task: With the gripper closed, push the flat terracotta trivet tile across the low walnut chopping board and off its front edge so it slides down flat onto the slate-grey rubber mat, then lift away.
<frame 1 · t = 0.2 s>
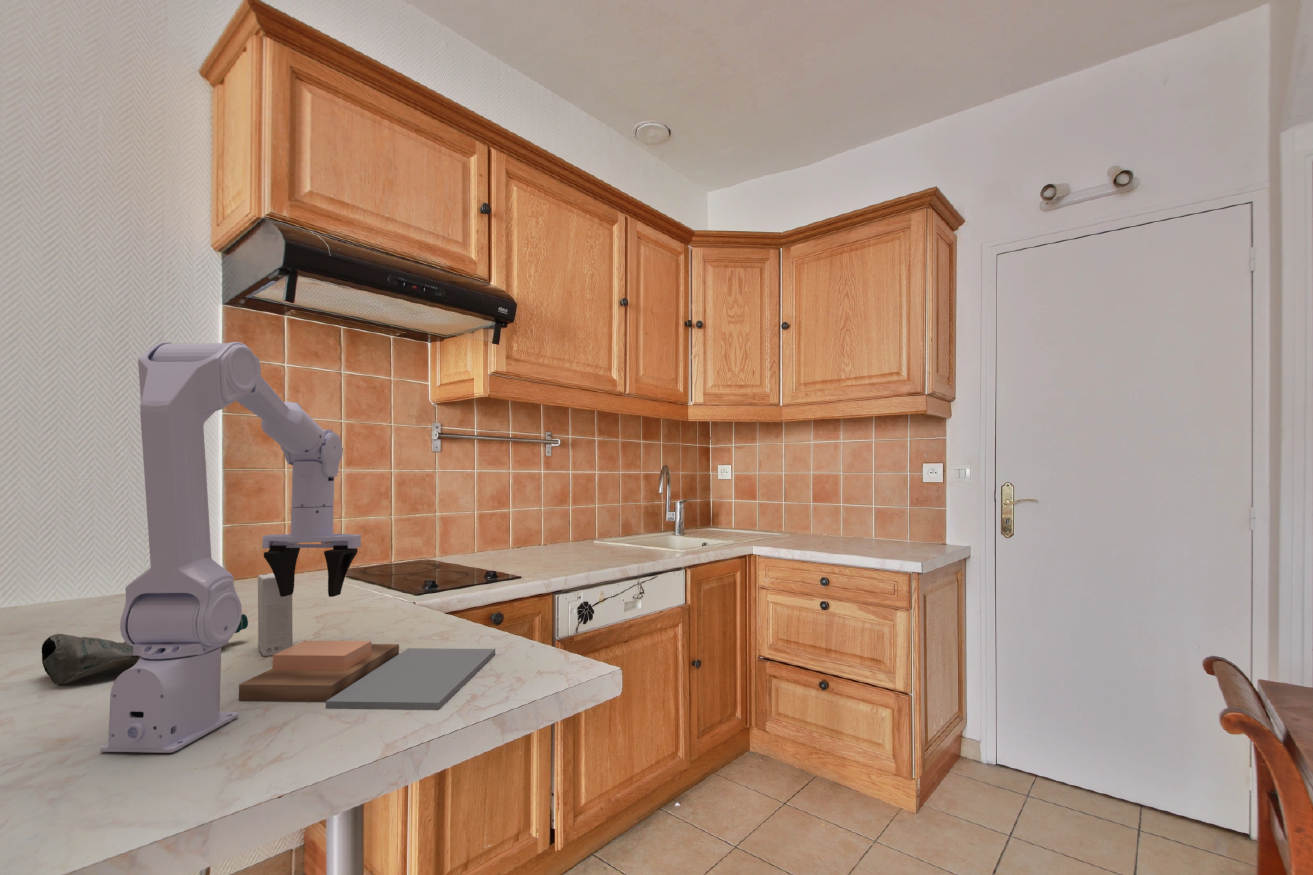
hand: (310, 595, 94), 10 cm above the counter, fingers open, 7 cm apart
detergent: (153, 664, 93), on the counter
deck: (326, 676, 86), on the counter
skincare box: (274, 651, 98), on the counter
tile: (323, 662, 86), point 2 cm above the counter, touching deck
mat: (421, 677, 85), on the counter
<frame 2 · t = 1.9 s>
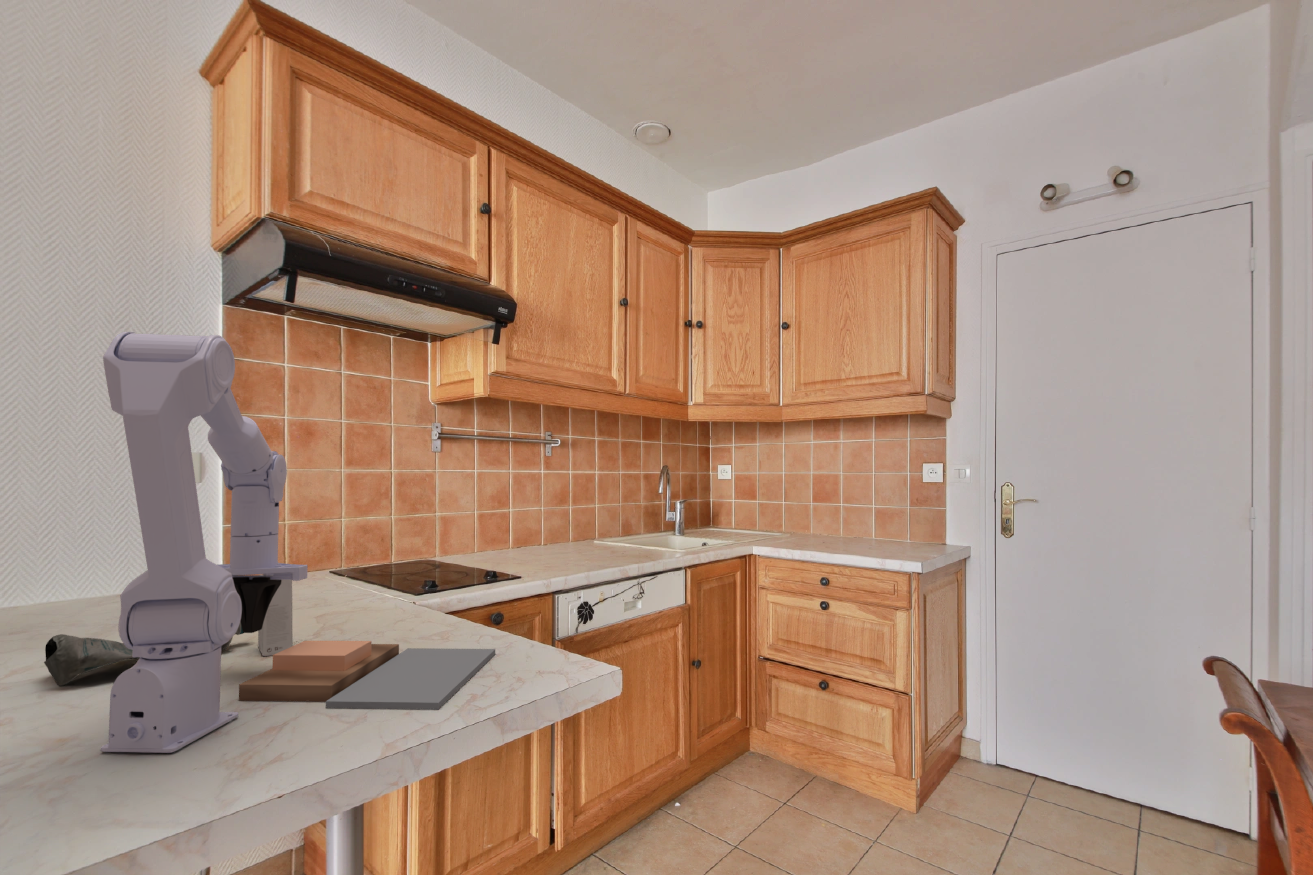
hand: (252, 631, 87), 6 cm above the counter, fingers closed
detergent: (156, 665, 92), on the counter
everything else where it was.
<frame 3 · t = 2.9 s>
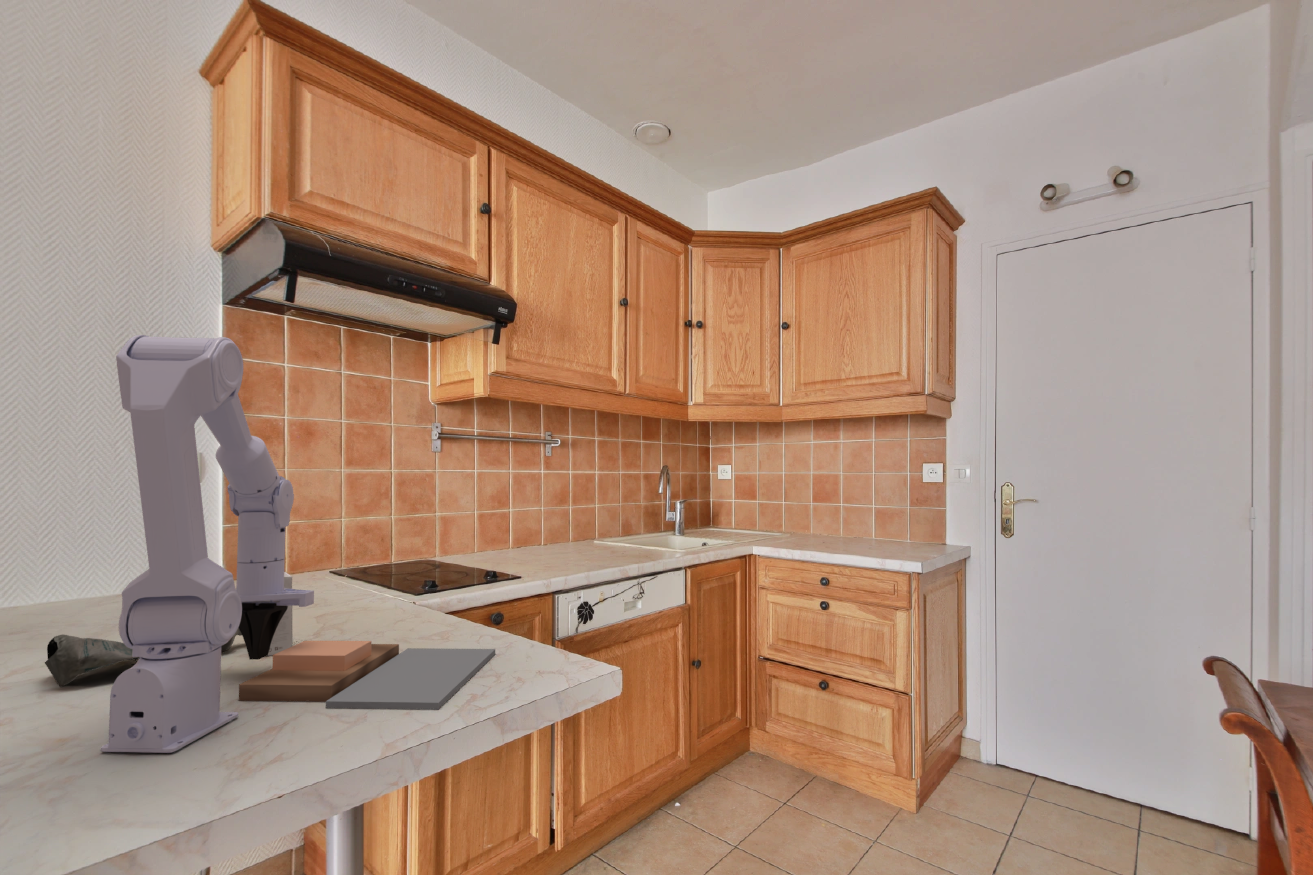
hand: (258, 657, 86), 3 cm above the counter, fingers closed
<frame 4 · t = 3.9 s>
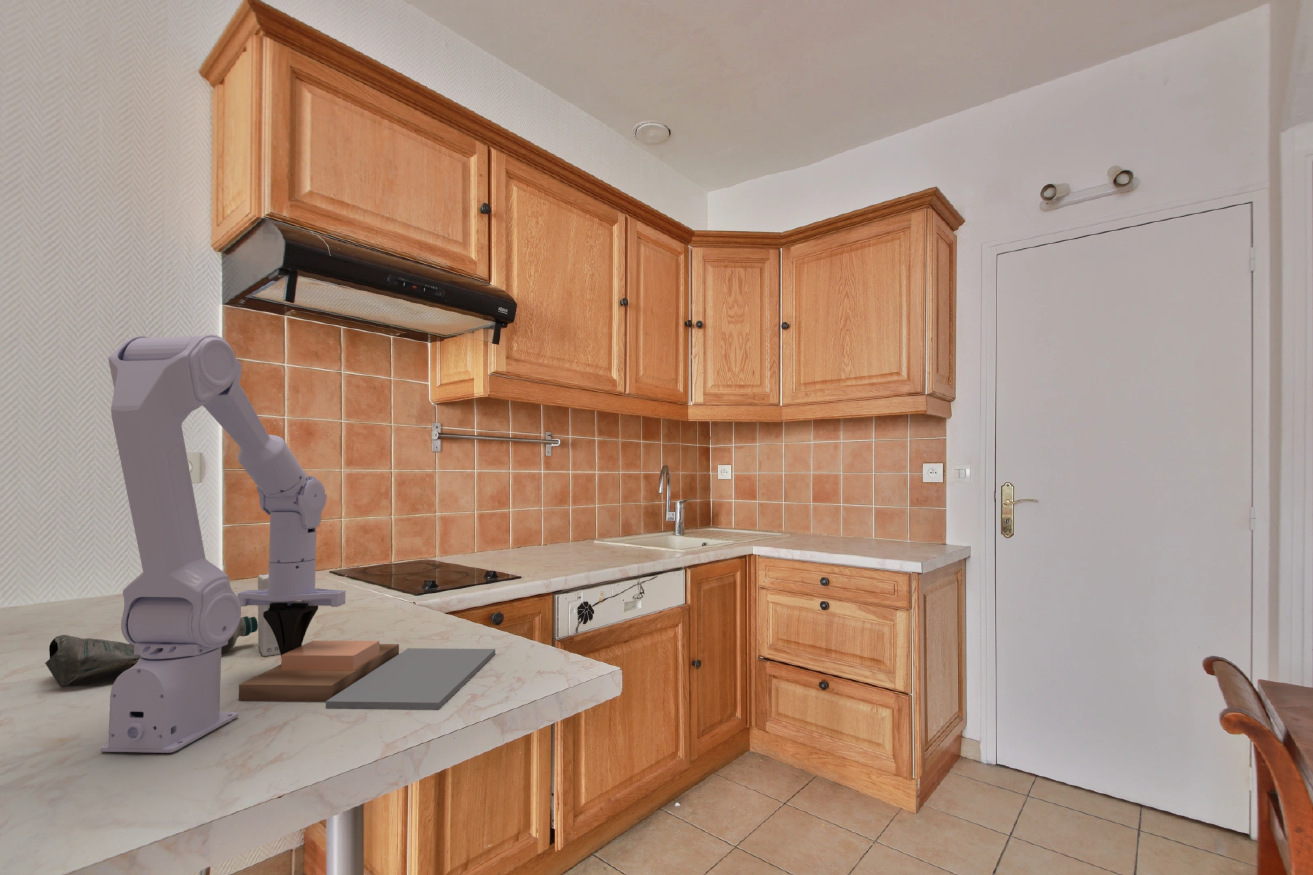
hand: (290, 657, 86), 3 cm above the counter, fingers closed
tile: (332, 662, 86), point 2 cm above the counter, touching gripper
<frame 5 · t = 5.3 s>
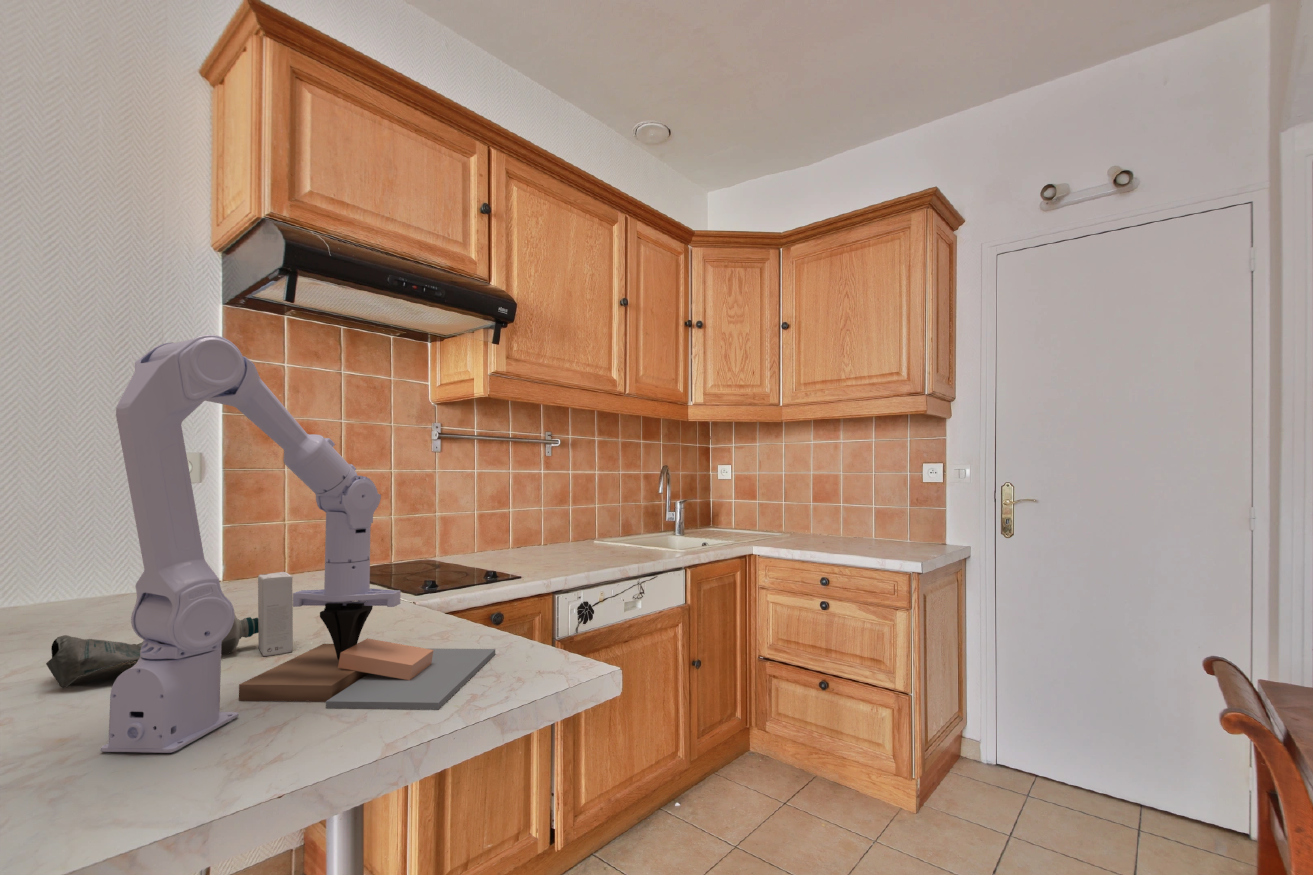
hand: (345, 657, 86), 3 cm above the counter, fingers closed
tile: (386, 665, 85), point 2 cm above the counter, tilted 9°, touching deck, gripper, mat
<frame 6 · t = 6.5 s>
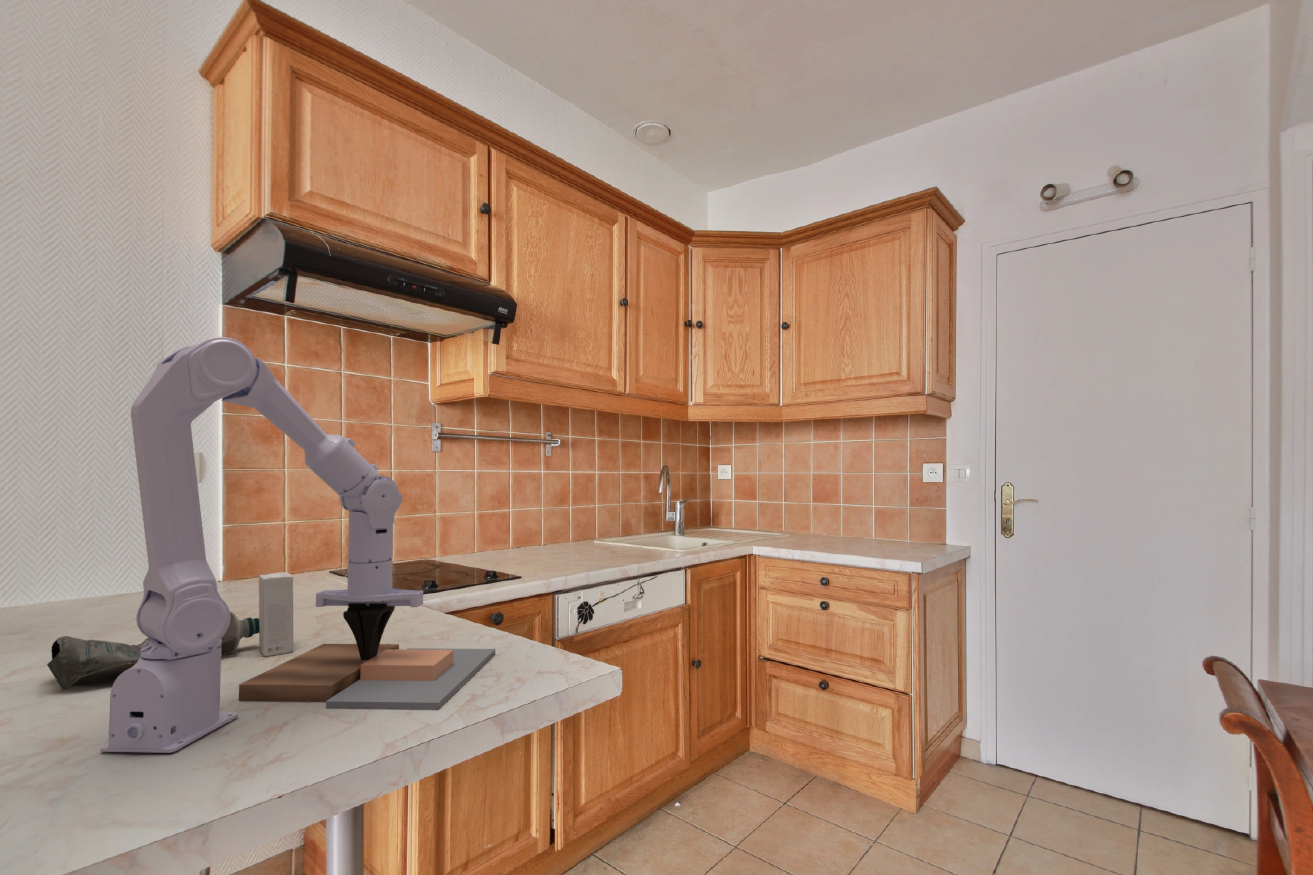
hand: (368, 658, 85), 3 cm above the counter, fingers closed
tile: (408, 671, 85), point 1 cm above the counter, touching gripper, mat
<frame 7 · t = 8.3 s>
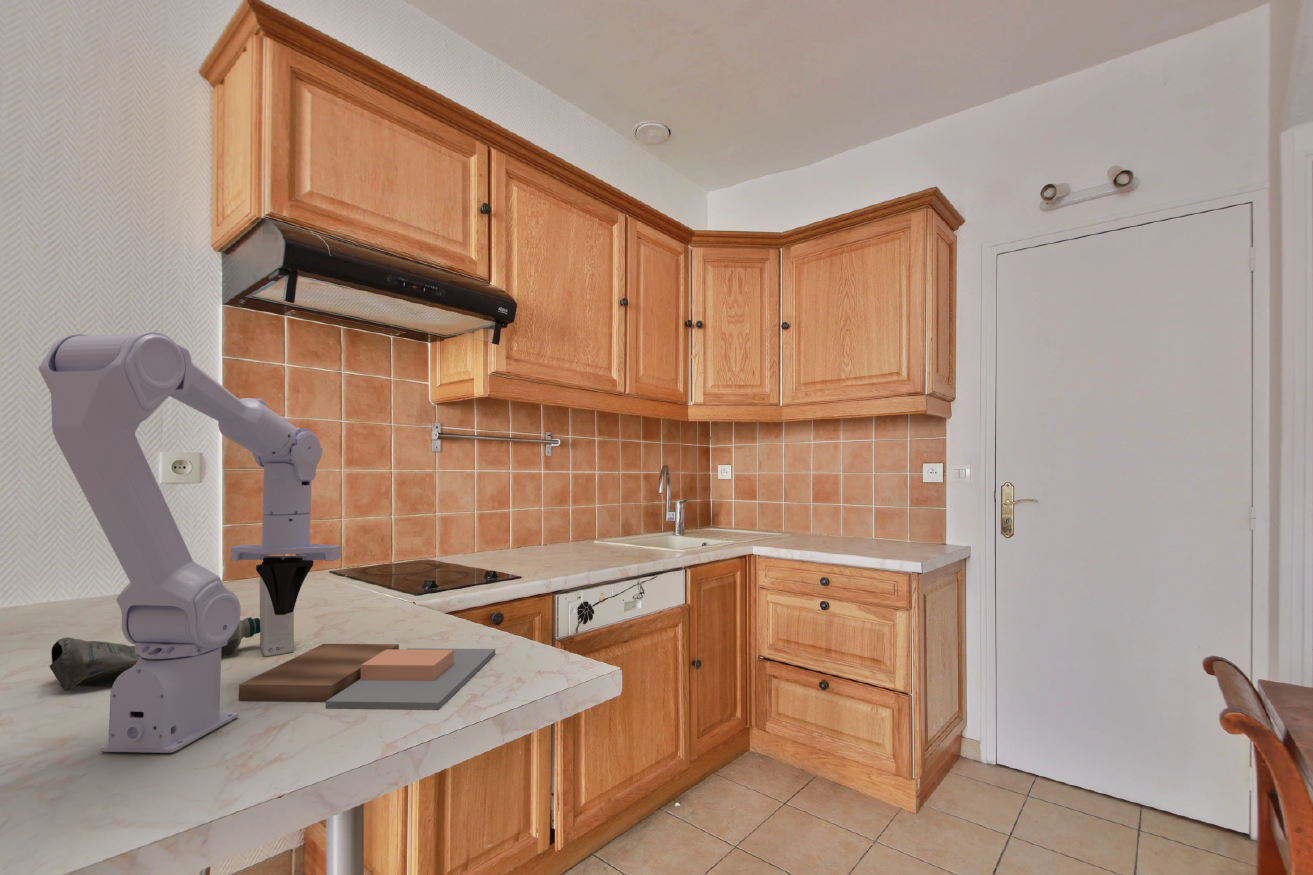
hand: (284, 613, 84), 9 cm above the counter, fingers closed
tile: (408, 671, 85), point 1 cm above the counter, touching mat
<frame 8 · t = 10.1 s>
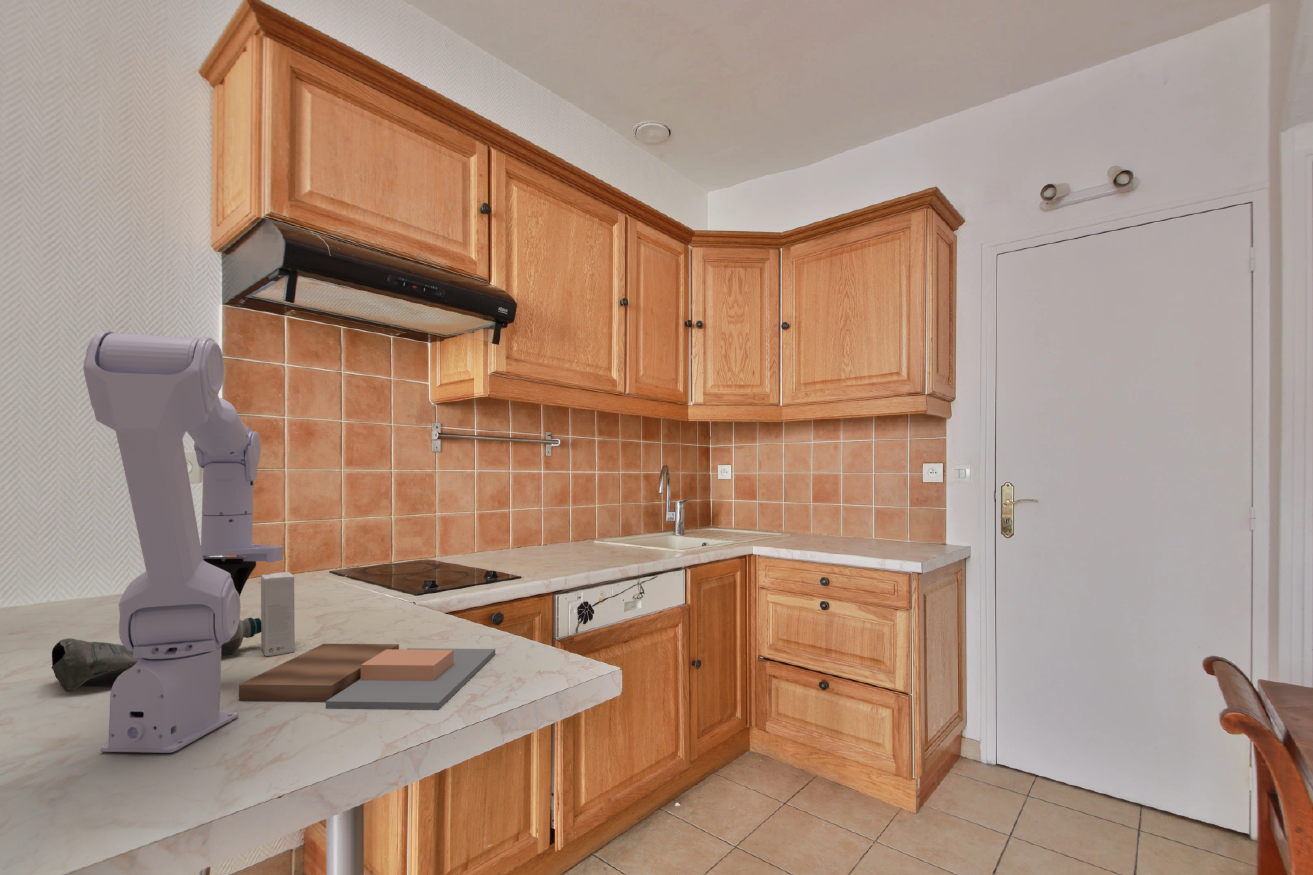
hand: (224, 615, 83), 9 cm above the counter, fingers closed
at the end: tile inside the target area (2.1 cm from its centre), point 0.8 cm above the counter; tile touching mat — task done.
